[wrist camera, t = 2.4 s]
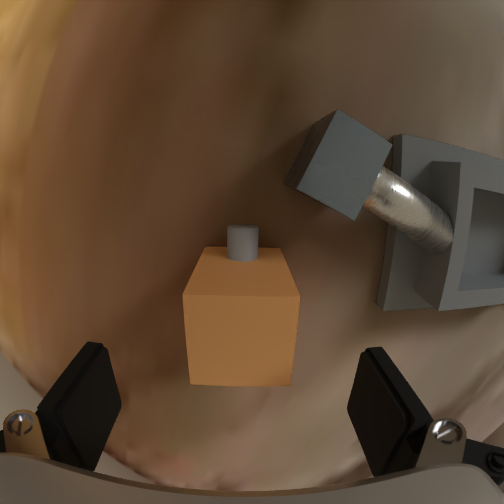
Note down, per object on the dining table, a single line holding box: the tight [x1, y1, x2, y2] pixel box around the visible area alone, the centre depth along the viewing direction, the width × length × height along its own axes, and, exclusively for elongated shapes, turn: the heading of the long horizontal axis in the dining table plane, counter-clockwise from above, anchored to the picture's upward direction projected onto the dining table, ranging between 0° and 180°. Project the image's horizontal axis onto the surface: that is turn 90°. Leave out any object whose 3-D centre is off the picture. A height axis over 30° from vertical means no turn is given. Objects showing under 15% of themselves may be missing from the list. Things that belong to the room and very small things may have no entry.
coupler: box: [182, 224, 300, 386], centre depth 15 cm, size 4×8×7 cm, turn 179°
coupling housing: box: [376, 134, 504, 311], centre depth 16 cm, size 11×16×4 cm
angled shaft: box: [284, 109, 454, 254], centre depth 15 cm, size 9×4×4 cm, turn 64°
